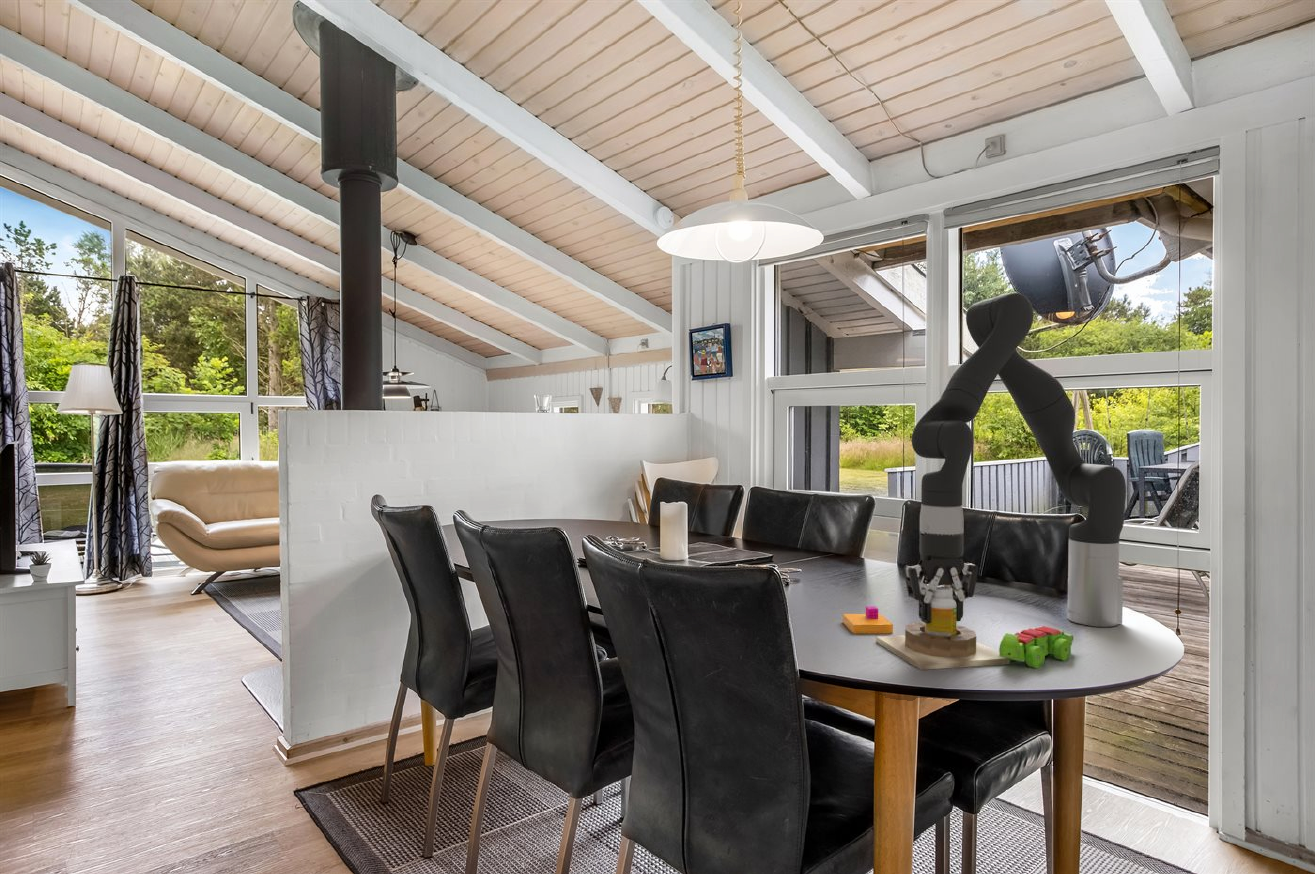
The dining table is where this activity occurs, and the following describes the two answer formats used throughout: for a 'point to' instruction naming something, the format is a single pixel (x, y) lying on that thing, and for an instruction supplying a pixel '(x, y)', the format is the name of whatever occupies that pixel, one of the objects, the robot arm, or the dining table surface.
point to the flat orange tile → (868, 622)
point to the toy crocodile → (1036, 645)
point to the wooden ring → (940, 642)
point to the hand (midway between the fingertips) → (940, 620)
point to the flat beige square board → (932, 662)
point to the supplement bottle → (942, 613)
